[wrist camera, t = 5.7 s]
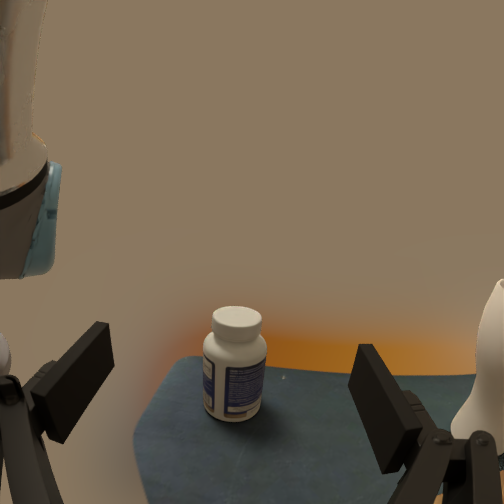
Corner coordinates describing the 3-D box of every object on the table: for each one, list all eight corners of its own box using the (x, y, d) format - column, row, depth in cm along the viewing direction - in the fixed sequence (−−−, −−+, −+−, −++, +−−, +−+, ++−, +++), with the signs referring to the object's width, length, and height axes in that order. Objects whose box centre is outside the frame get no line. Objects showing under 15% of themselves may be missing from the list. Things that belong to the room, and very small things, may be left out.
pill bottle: (267, 397, 29) (278, 310, 27) (248, 431, 24) (257, 337, 22) (217, 382, 31) (221, 297, 29) (192, 412, 26) (191, 320, 24)
